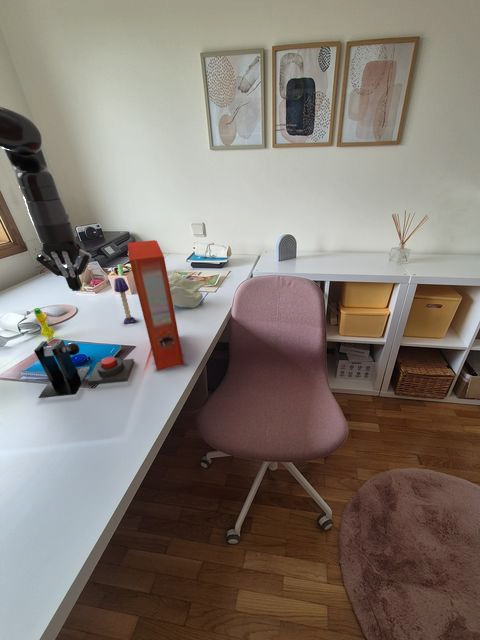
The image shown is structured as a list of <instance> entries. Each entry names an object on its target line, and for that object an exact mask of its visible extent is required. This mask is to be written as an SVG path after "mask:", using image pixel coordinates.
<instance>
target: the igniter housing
mask: <svg viewBox="0 0 480 640" xmlns="http://www.w3.org/2000/svg"><path fill="white" fill-rule="evenodd" d="M114 358H115V360H116V363H117V365H116V366H115V367H113V368H110V369H104V368H103V367H102V364H101V361H97V362H96V365H95V366H94V368H93V370H92V372H91V373H90V375H89V377H88V379H87V381H86V383H87V384H88V386H92V385H103V384H112V383H113V384H114V383H124V382H128V380H129V378H130V375H131V372H132V369H133V368H134V365H135V359H134V358H128V359H127V358H125V359H121V357H120V358H119V357H114Z"/></svg>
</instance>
